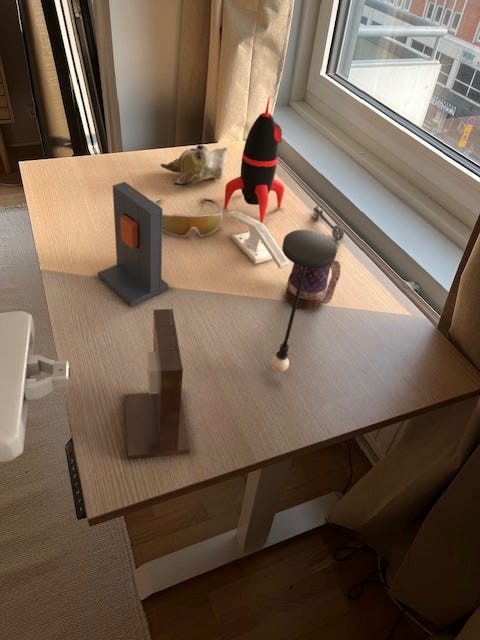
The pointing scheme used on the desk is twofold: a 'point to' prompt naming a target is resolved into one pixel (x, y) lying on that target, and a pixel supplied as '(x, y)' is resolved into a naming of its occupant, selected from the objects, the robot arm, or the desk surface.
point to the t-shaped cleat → (258, 241)
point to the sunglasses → (191, 222)
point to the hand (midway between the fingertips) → (69, 374)
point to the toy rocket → (259, 165)
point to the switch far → (129, 231)
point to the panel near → (159, 399)
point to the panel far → (136, 248)
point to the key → (334, 232)
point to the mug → (313, 285)
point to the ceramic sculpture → (198, 165)
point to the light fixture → (303, 273)
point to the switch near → (152, 372)
